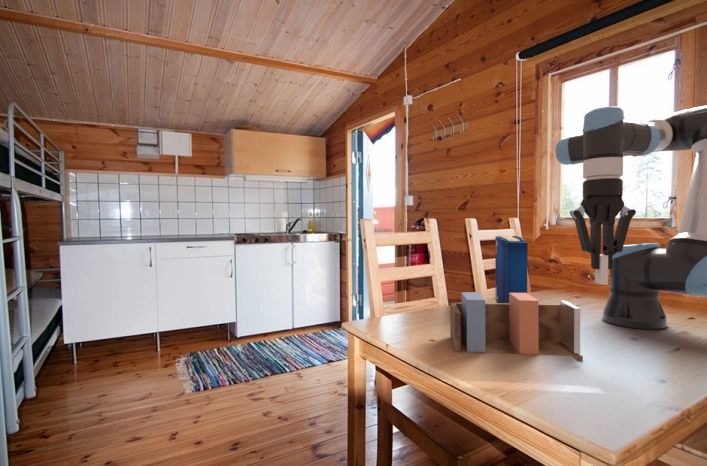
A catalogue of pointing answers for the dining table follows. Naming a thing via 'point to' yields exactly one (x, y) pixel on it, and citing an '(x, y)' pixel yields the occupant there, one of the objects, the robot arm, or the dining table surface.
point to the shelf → (499, 330)
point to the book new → (523, 323)
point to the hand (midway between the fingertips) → (601, 283)
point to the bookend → (570, 326)
